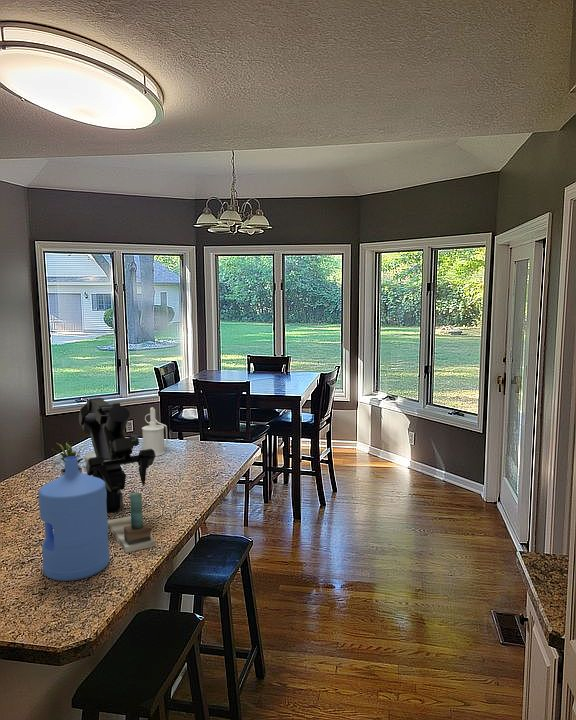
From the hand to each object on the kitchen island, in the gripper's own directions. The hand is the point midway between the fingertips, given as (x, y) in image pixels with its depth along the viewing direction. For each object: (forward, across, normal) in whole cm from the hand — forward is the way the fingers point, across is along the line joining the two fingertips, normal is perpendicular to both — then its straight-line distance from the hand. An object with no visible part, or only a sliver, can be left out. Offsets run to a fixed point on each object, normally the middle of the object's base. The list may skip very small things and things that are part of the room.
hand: (127, 488), depth 157 cm
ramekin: (-38, +7, +58) cm, 70 cm away
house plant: (-26, -8, +46) cm, 54 cm away
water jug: (+18, -17, +1) cm, 25 cm away
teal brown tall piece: (+14, 0, +3) cm, 14 cm away
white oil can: (-43, +32, +63) cm, 82 cm away
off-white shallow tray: (+10, 0, +9) cm, 14 cm away
